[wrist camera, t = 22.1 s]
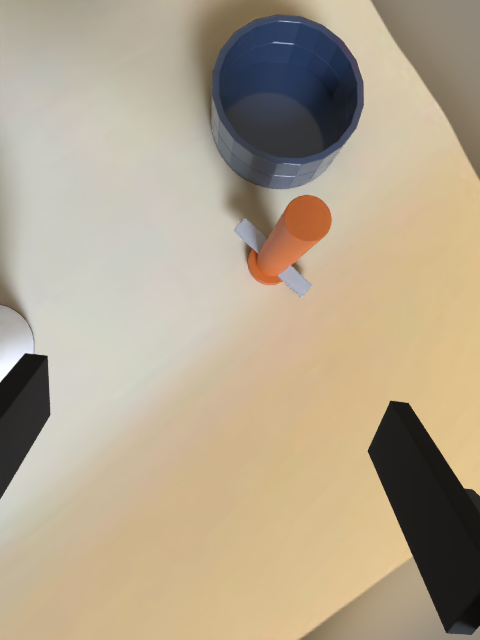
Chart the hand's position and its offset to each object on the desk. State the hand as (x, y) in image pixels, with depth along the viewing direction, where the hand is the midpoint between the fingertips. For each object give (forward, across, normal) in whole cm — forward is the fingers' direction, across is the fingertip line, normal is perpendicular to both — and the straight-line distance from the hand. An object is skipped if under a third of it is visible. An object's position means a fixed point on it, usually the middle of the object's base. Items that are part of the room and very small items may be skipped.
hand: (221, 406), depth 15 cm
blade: (+24, +5, -2) cm, 25 cm away
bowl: (+31, +4, +10) cm, 33 cm away
